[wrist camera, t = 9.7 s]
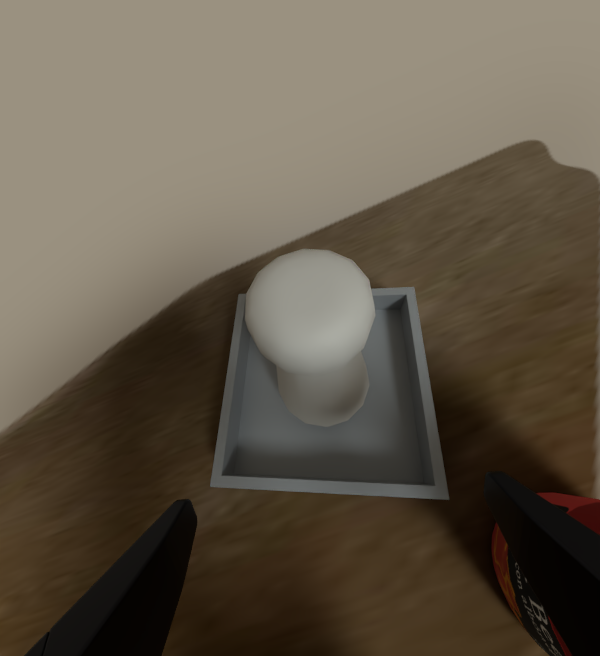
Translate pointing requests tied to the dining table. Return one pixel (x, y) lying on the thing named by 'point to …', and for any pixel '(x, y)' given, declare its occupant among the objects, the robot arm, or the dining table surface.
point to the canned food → (517, 587)
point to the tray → (343, 438)
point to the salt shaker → (314, 332)
